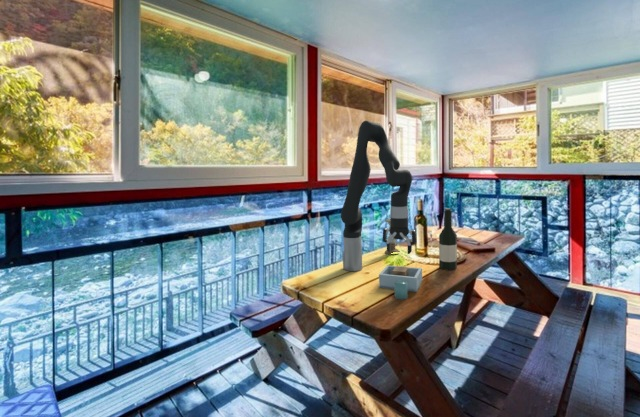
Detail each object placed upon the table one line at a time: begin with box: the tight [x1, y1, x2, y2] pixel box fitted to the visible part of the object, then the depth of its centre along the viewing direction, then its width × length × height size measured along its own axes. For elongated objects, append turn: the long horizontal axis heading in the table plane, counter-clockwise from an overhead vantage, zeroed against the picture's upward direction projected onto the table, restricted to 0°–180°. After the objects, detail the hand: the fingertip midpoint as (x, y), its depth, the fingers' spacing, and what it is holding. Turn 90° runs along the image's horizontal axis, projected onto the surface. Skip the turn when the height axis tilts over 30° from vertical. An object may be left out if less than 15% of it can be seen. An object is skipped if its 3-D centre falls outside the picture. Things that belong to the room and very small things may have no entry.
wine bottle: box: [438, 208, 458, 271], centre depth 168 cm, size 8×8×30 cm
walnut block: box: [392, 265, 409, 276], centre depth 150 cm, size 6×7×6 cm
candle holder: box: [384, 218, 401, 256], centre depth 201 cm, size 9×9×20 cm
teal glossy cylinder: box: [394, 281, 408, 300], centre depth 136 cm, size 5×5×6 cm
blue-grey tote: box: [378, 264, 423, 293], centre depth 150 cm, size 16×14×6 cm
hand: (399, 252), depth 148 cm, fingers open, 8 cm apart
